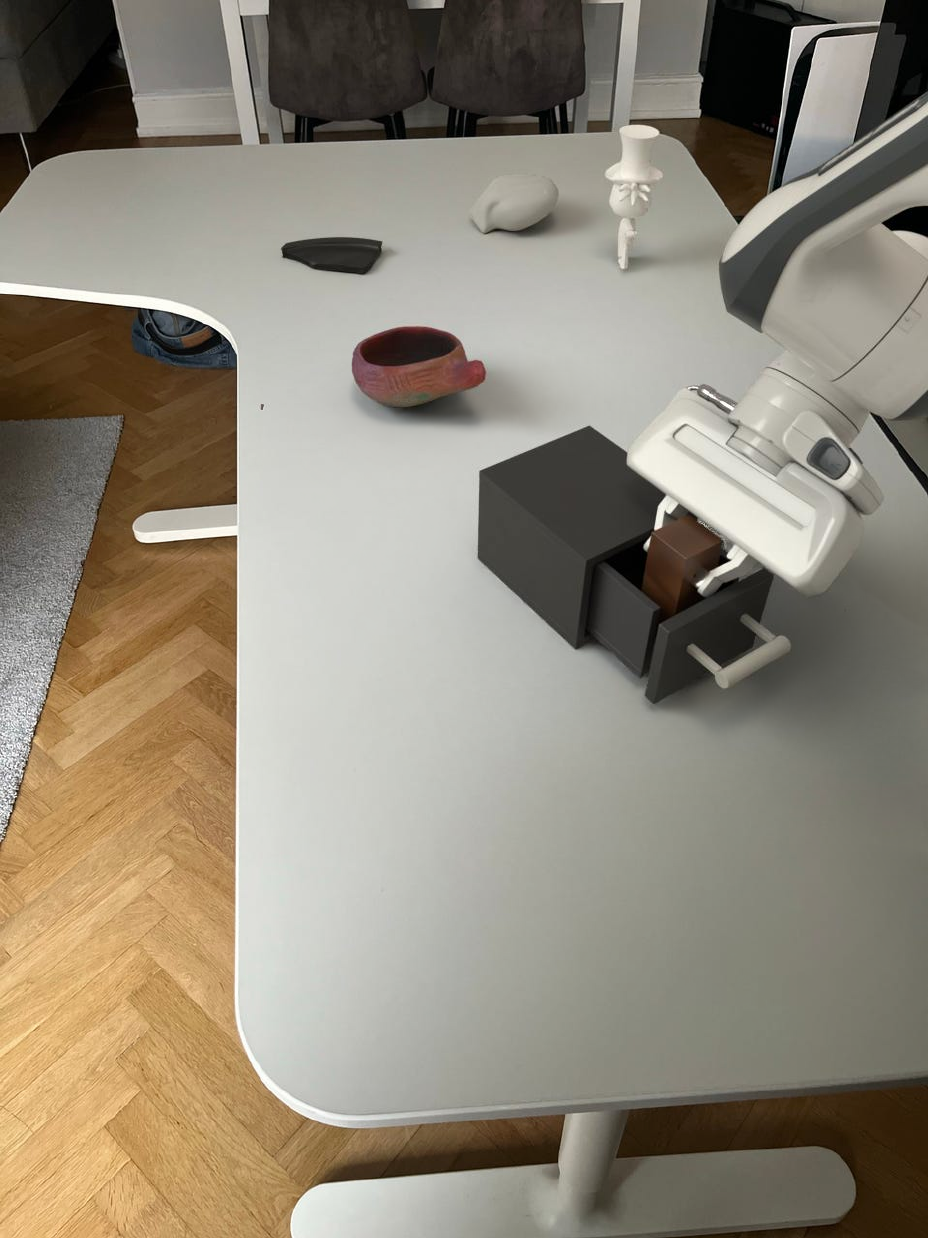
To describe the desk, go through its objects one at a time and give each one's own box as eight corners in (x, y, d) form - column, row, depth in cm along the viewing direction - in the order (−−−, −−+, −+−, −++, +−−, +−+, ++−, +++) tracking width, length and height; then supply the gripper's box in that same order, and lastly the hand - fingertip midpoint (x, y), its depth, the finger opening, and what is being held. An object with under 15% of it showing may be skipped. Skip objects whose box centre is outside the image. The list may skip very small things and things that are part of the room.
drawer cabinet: (682, 593, 92) (701, 504, 85) (575, 649, 87) (586, 560, 80) (579, 511, 101) (589, 425, 93) (477, 558, 95) (479, 470, 88)
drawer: (794, 680, 83) (820, 608, 77) (694, 742, 78) (714, 670, 72) (646, 562, 94) (659, 490, 88) (550, 610, 89) (556, 538, 83)
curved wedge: (297, 240, 146) (296, 229, 145) (385, 251, 144) (384, 240, 143) (275, 263, 141) (273, 252, 139) (365, 276, 138) (364, 264, 137)
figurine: (652, 283, 137) (672, 146, 124) (596, 281, 137) (611, 144, 125) (647, 250, 145) (665, 118, 132) (594, 248, 145) (608, 116, 132)
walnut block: (706, 613, 83) (724, 540, 78) (671, 632, 82) (686, 559, 76) (673, 587, 86) (688, 514, 80) (638, 605, 84) (651, 531, 78)
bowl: (341, 422, 112) (335, 358, 106) (367, 364, 121) (363, 303, 115) (482, 436, 110) (483, 372, 105) (498, 376, 119) (500, 315, 114)
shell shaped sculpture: (562, 210, 155) (565, 167, 150) (548, 244, 146) (551, 199, 141) (481, 202, 157) (481, 159, 152) (462, 234, 148) (462, 190, 143)
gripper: (676, 358, 81) (574, 496, 84) (881, 483, 69) (753, 638, 72) (706, 390, 86) (608, 519, 89) (902, 511, 74) (781, 655, 77)
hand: (674, 573), depth 80 cm, fingers closed on walnut block, 4 cm apart
